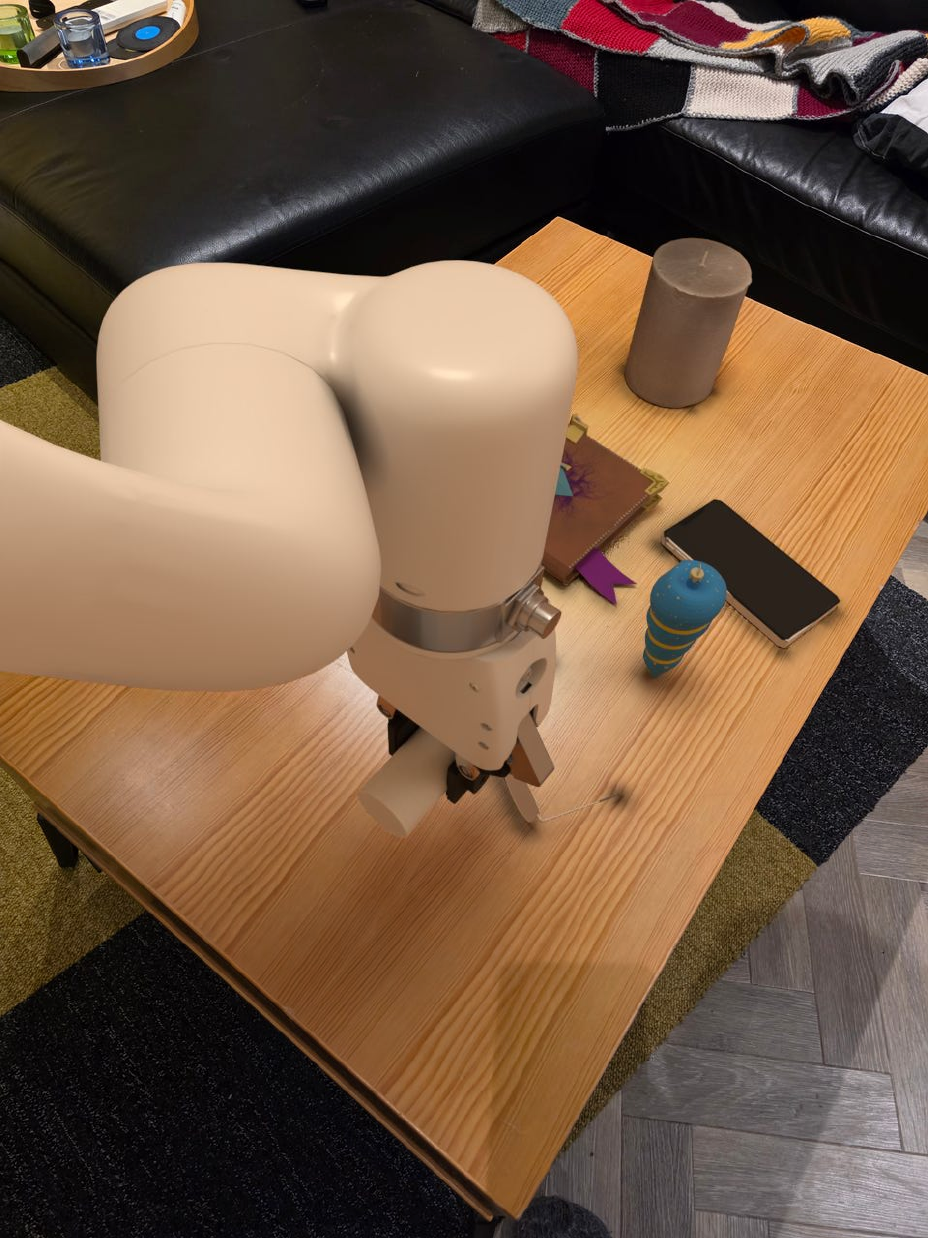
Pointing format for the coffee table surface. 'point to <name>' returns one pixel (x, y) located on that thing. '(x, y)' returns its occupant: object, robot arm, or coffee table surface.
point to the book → (594, 509)
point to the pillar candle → (686, 321)
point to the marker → (408, 783)
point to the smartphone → (752, 572)
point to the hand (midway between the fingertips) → (438, 760)
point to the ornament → (680, 613)
